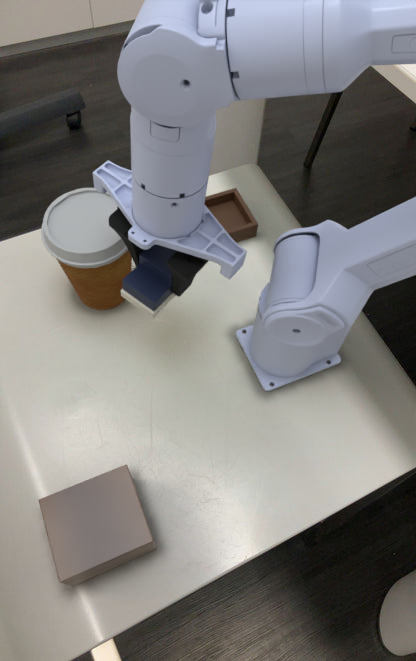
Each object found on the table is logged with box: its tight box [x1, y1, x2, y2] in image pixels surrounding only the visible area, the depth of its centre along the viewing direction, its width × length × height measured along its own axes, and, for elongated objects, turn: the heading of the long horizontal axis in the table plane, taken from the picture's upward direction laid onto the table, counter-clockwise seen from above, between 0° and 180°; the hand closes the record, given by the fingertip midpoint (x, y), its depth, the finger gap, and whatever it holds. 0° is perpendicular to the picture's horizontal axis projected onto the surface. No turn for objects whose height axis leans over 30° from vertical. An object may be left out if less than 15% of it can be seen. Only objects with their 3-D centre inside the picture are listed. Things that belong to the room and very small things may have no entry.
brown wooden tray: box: [205, 187, 259, 243], centre depth 65 cm, size 12×7×2 cm, turn 113°
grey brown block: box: [38, 464, 157, 587], centre depth 46 cm, size 8×7×5 cm
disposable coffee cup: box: [40, 187, 133, 311], centre depth 56 cm, size 10×10×12 cm
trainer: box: [121, 245, 205, 320], centre depth 48 cm, size 8×4×5 cm, turn 144°
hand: (163, 275), depth 50 cm, fingers closed on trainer, 4 cm apart
